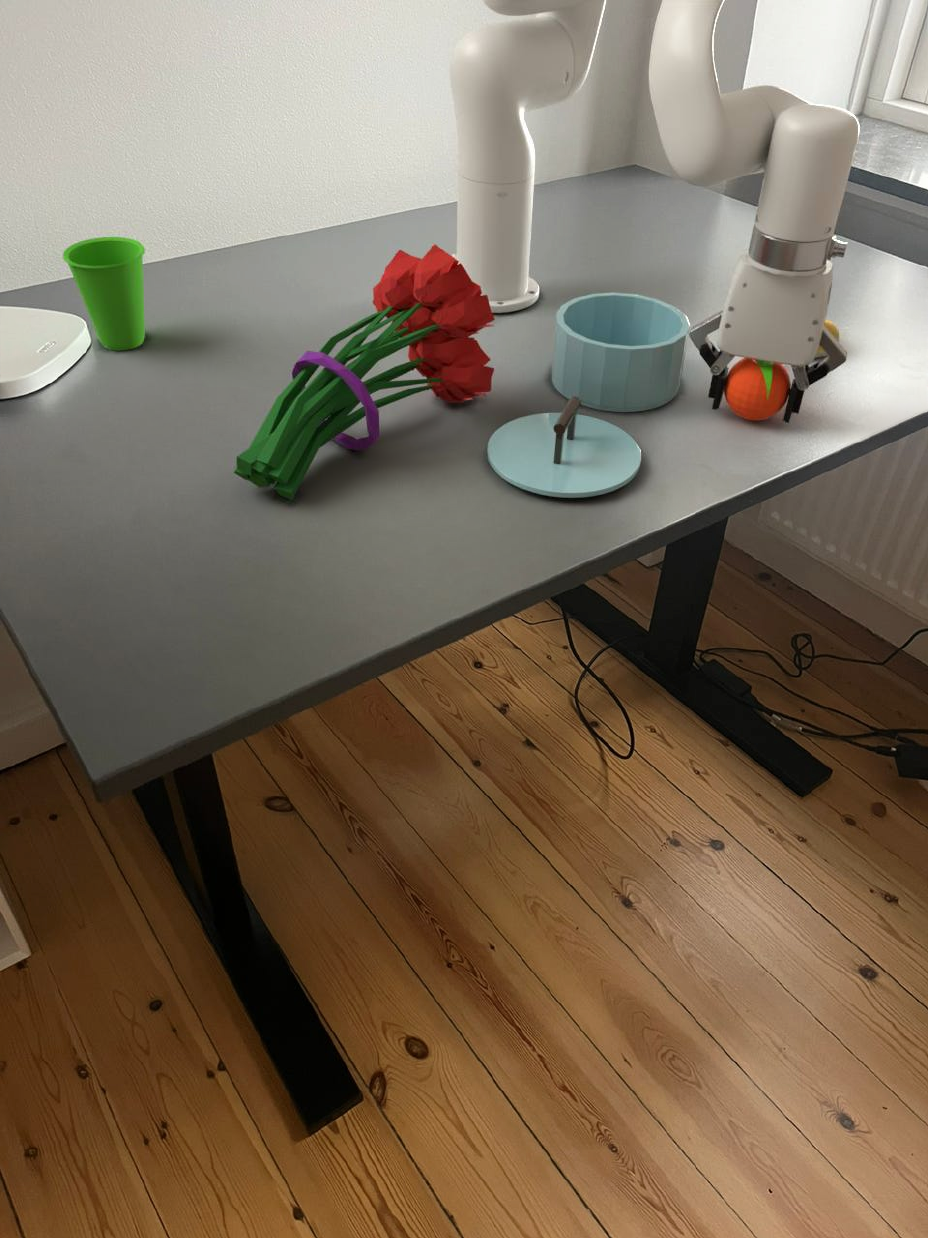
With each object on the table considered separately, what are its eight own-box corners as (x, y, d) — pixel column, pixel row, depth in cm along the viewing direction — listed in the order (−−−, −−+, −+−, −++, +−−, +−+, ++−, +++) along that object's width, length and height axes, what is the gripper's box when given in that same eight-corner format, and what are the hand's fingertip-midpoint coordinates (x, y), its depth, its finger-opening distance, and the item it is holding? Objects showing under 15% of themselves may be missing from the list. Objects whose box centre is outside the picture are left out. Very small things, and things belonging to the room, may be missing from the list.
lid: (465, 484, 100) (467, 432, 96) (513, 411, 111) (515, 362, 107) (620, 516, 96) (628, 464, 92) (653, 438, 107) (661, 388, 103)
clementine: (791, 437, 108) (807, 376, 103) (726, 436, 108) (739, 375, 103) (775, 401, 114) (789, 342, 109) (713, 400, 114) (725, 340, 109)
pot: (536, 398, 113) (540, 335, 108) (570, 344, 124) (575, 284, 119) (665, 422, 110) (675, 358, 105) (688, 364, 120) (699, 303, 116)
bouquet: (225, 518, 105) (407, 363, 119) (340, 581, 98) (521, 407, 111) (159, 362, 90) (377, 203, 104) (290, 421, 82) (506, 242, 96)
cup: (176, 341, 123) (160, 250, 115) (110, 365, 117) (89, 272, 110) (134, 319, 127) (116, 230, 120) (69, 341, 122) (46, 250, 115)
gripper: (883, 247, 99) (836, 409, 111) (706, 222, 103) (678, 381, 115) (880, 275, 94) (831, 442, 105) (693, 247, 98) (666, 411, 110)
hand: (751, 409), depth 110 cm, fingers closed on clementine, 7 cm apart
